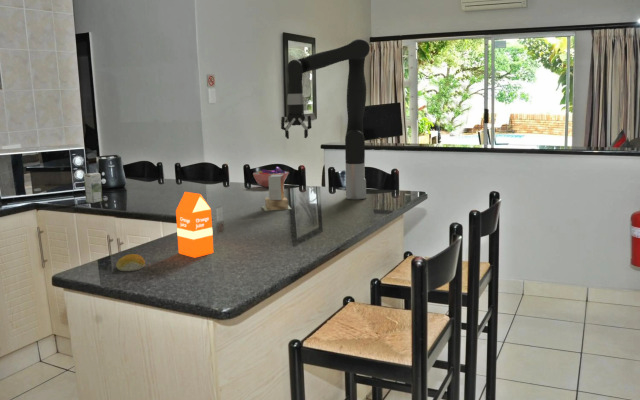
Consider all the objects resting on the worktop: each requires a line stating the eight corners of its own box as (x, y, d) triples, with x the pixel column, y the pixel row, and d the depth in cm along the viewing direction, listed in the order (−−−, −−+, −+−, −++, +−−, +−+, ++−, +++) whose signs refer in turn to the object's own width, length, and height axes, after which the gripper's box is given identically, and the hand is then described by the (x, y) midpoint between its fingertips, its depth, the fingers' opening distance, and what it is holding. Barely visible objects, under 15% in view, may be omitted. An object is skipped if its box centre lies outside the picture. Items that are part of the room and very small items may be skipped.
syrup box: (96, 200, 296) (93, 172, 294) (103, 201, 293) (100, 172, 290) (85, 202, 291) (83, 173, 289) (92, 203, 288) (90, 174, 286)
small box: (281, 200, 258) (280, 176, 256) (268, 200, 259) (268, 176, 257) (284, 197, 266) (284, 174, 264) (272, 197, 267) (271, 174, 265)
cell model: (253, 185, 335) (252, 165, 333) (288, 184, 337) (287, 164, 335) (253, 189, 319) (252, 169, 317) (290, 188, 321) (289, 168, 319)
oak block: (284, 205, 268) (284, 196, 268) (288, 208, 260) (287, 199, 259) (265, 206, 267) (265, 197, 266) (267, 210, 258) (267, 201, 257)
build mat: (288, 206, 269) (288, 204, 269) (291, 210, 260) (291, 208, 260) (262, 207, 267) (262, 206, 267) (264, 211, 257) (264, 210, 257)
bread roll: (144, 262, 183) (143, 250, 182) (145, 270, 174) (144, 257, 173) (116, 265, 180) (115, 252, 179) (116, 273, 172) (114, 260, 171)
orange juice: (194, 257, 186) (190, 195, 182) (178, 253, 191) (174, 193, 188) (214, 252, 191) (210, 192, 188) (197, 248, 197) (194, 190, 194)
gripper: (308, 103, 279) (309, 137, 282) (279, 104, 276) (280, 138, 279) (312, 103, 272) (312, 138, 275) (281, 104, 269) (282, 139, 272)
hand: (296, 138), depth 277 cm, fingers open, 8 cm apart
